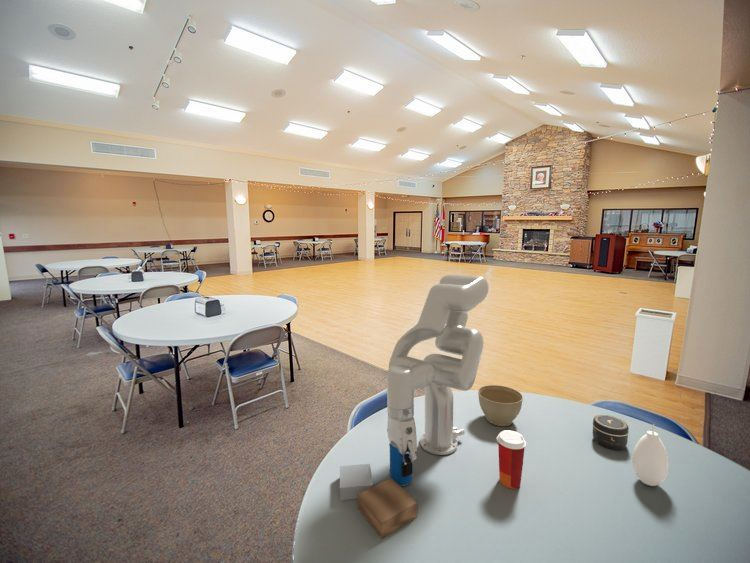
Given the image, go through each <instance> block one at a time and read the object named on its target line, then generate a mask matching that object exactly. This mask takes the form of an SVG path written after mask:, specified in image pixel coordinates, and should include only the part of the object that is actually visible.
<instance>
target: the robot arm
mask: <svg viewBox="0 0 750 563" xmlns="http://www.w3.org/2000/svg"><path fill="white" fill-rule="evenodd" d="M488 293H489V283H488V281H487V279H486V278H485V277H483V276H480V275H467V274H465V275H463V274H447V275H444V276H442V277H441V278H440V281H439V283H437V284H434V285H433V286H431V288H430V289H429V291H428V294H427V297H426V299H425V302H424V305H423V309H422V311H421V312H420V316H419V319H418V322H417V323H416V324H415V325H414V326H413V327H411V328H410V329H408V330H407V331H406V332H405V333H404V334H403V335H402V336H401V337H400V338H399V339H398V340H397V342H396V344H395V345H394V348H393V351H392V353H391V357H390V360H389V363H388V370H387V373H386V391H387V392H386V393H387V394H386V396H387V398H386V399H387V400H386V402H387V403H386V406H387V409H386V410H387V411H386V412H387V425H386V426H387V428H386V431H387V438H388V440H389V445H388V446H389V447H390V443H391V441H392V442H393V444H394V445H395V446H396V447H397V449H398V451H399V452H400V453H401V454H402V459H403V463H402V476H403V477H406V476H409V475H411V474H412V475H413V471H414V470H413V466H414V464H413V463H414V462H415V461H416V460H417V458H418V457H417V454H416V452H417V451H418V450H417V449H418V440H417V427H416V421H415V418H414V415H415V411H414V410H415V408H414V407H415V406H414V405H415V404H414V403H415V401H414V399H415V394H414V392H415V390H419V389H423V388H424V433H423V434H422V435H421V436H420V440H419V443H420V446H421V447H422V449H423V450H425V451H426V452H427V453H429V454H432V455H439V456H445V455H446V456H447V455H451V454H452V453H454V452H456V451H457V449H458V444H459V443H458V440H457V438H458V436H459V437H460V436H463V435H465V429H464V428H459V429H457V427H456V426H454V400H455V399H454V393H453V390H452V389H454V390H455V389H456V390H458V391H463V392H466V391H469V390H470V389H472V387H473V385H474V383H475V380H476V376H477V373H478V368H479V365H480V361H481V358H482V354H483V349H484V336H483V335H482V333H481V331H479V330H477V329H475V328H470V327H466V326H467V321H468V318H469V315H468V313H469V312H470V311H472V310H473V309H475V308H476V307H477V306H479V304H481V303H482V302H483V301H484V300H485V299H486V297H487V295H488ZM431 339H435V341H434V343H435V347H436V348H437V349H438V350H439V351H441V352H444V353H447V354H452V355H455V356H460V357H462V358H457V357H452V356H449V355H446V354H445V355H444V354H440V353H430V354H427V355H426V356H425V357H424V358H423V360H422V359H419V358H416V357H415V358H414V357H411V356H408V355H409V353H410V352H411V350H412V349H413V347H415V346H416V345H417V344H420V343H422V342H424V341H427V340H431ZM406 449H408V451H406ZM405 451H406V452H405ZM406 454H409V458H407V459H406V457H405V455H406Z"/></svg>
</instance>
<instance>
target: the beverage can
mask: <svg viewBox="0 0 750 563" xmlns="http://www.w3.org/2000/svg"><path fill="white" fill-rule="evenodd" d="M389 443H390V442H389ZM406 451H408V449H406ZM406 451H405V452H406ZM405 457H406V459H407V458H409V454H406V455H405ZM402 463H403V459H402V454H401V453H400V452H399V451H398V449H397V447H396V446H395V445H394V444H393V442H392V441H391V443H390V446H389V478H392V479H393V480H394V481H395V482H396V483H397V484H398V485H399V486H400V487H405V486H408V485H409V484H410V483H411V482H412V481H413V473H412V474H411V475H409V476H406V477H403V476H402Z"/></svg>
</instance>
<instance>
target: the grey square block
mask: <svg viewBox="0 0 750 563" xmlns="http://www.w3.org/2000/svg"><path fill="white" fill-rule="evenodd" d="M373 486H374V482H373V476H372V466H371V463H363V464H349V465H339V501H346V500H347V501H348V500H357V494H359V493H361V492H363V491H365V490H367V489H369V488H371V487H373Z"/></svg>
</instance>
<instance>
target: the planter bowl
mask: <svg viewBox="0 0 750 563" xmlns="http://www.w3.org/2000/svg"><path fill="white" fill-rule="evenodd" d="M477 394H478V402H479V406H480V409H481V410H482V413H483V414H484V416H485V419H486V421H487V422H488V423H491V425H494V426H498V427H509V426H511V425H512V424H513V421H514V420H515V419H516V418H517V417H518V415H519V414H520V412H521V409H522V405H523V401H524V396H523V394H522V393H521V391H518V390H517V389H515V388H512V387H509V386H505V385H498V384H490V385H489V384H488V385H483V386H481V387H479V389H478V390H477Z"/></svg>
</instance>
